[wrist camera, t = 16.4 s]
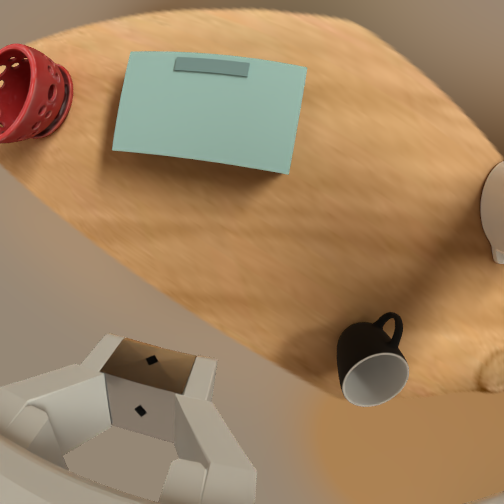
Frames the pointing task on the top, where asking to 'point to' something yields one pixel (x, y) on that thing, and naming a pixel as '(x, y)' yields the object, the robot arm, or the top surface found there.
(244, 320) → the top surface
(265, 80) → the lid
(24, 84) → the plant pot
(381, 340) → the mug
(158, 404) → the robot arm
